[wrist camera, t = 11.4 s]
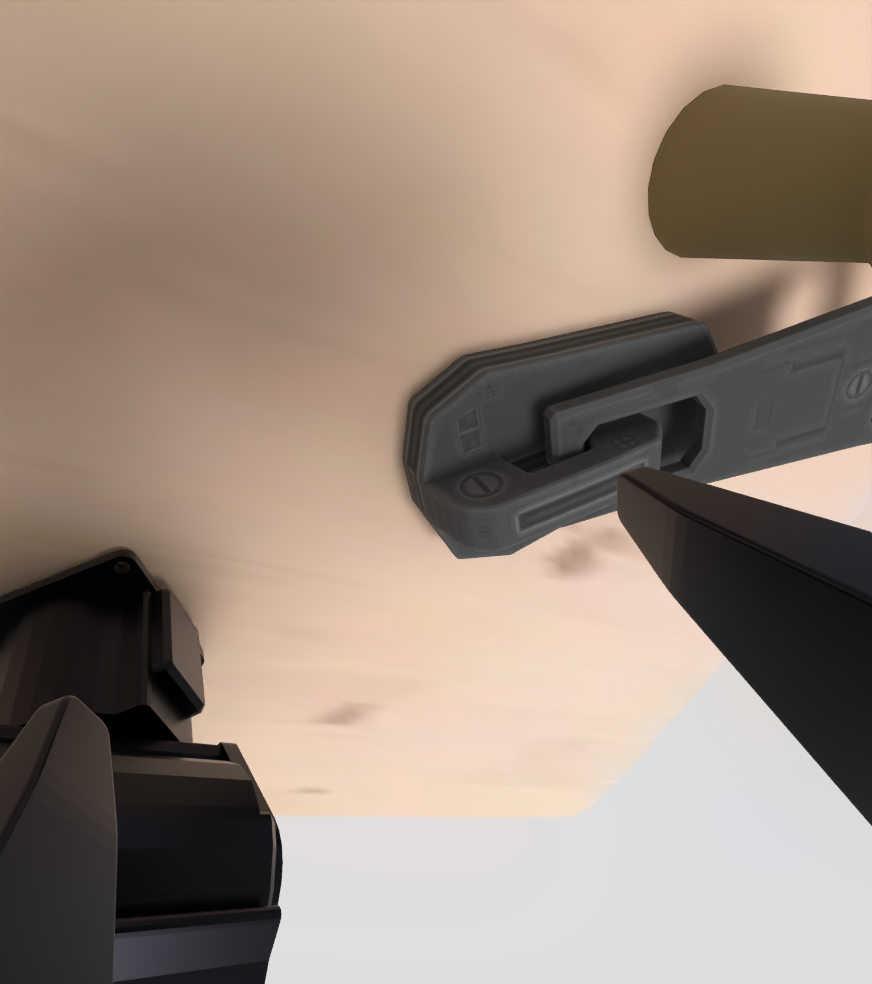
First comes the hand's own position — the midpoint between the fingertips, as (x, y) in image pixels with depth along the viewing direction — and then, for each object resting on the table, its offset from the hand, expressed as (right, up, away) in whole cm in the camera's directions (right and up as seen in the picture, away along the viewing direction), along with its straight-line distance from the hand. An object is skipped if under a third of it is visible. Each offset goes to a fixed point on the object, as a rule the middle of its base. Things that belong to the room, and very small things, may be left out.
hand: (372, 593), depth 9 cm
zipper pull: (+11, +7, +18) cm, 22 cm away
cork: (+12, +14, +14) cm, 23 cm away
